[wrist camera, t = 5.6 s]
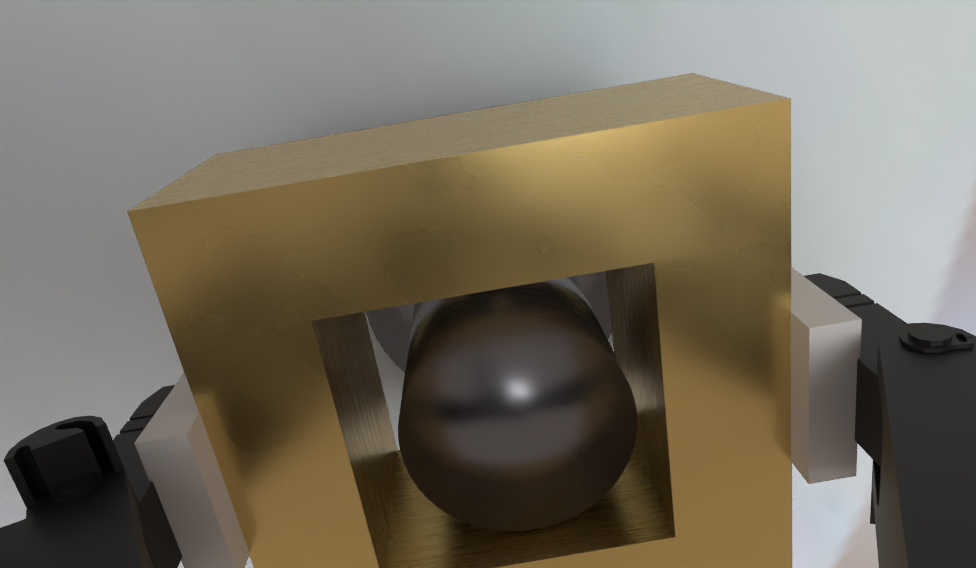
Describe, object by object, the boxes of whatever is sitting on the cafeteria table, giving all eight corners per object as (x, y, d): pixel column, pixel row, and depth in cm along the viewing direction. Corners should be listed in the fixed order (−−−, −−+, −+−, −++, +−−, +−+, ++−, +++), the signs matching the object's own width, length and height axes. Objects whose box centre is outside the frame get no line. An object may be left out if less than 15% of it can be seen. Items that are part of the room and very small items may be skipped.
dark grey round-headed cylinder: (399, 372, 23) (362, 620, 13) (351, 159, 20) (264, 276, 11) (613, 336, 22) (728, 561, 13) (589, 118, 20) (710, 201, 11)
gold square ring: (329, 537, 17) (297, 690, 13) (215, 154, 13) (128, 211, 10) (713, 472, 17) (792, 606, 13) (693, 73, 13) (791, 98, 10)
